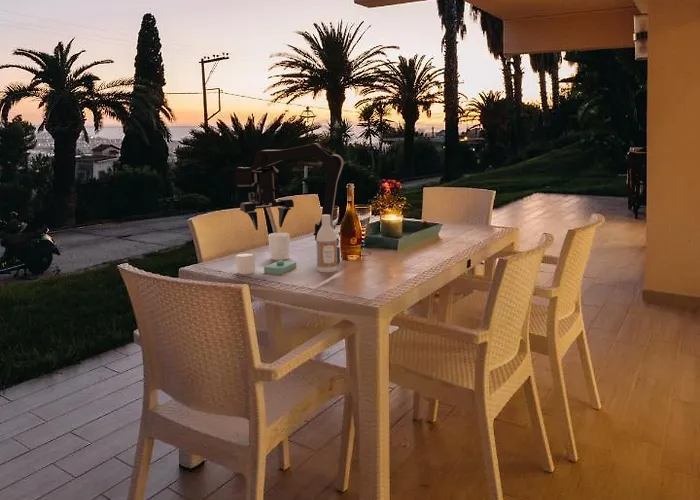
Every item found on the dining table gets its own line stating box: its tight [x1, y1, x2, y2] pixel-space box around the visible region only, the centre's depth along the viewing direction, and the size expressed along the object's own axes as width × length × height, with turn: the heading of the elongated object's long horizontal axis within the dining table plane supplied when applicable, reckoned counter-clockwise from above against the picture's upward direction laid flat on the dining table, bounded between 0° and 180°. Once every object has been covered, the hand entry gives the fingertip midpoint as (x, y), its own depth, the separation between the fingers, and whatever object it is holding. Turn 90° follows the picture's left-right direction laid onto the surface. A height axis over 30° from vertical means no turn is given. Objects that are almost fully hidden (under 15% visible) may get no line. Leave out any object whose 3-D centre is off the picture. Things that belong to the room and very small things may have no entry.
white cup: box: [268, 232, 291, 261], centre depth 226 cm, size 8×8×10 cm
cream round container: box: [234, 252, 256, 275], centre depth 205 cm, size 7×7×7 cm
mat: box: [260, 267, 301, 276], centre depth 207 cm, size 10×10×1 cm
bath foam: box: [315, 214, 338, 273], centre depth 205 cm, size 7×7×20 cm
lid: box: [263, 260, 297, 275], centre depth 207 cm, size 7×10×3 cm
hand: (268, 228), depth 218 cm, fingers open, 9 cm apart
